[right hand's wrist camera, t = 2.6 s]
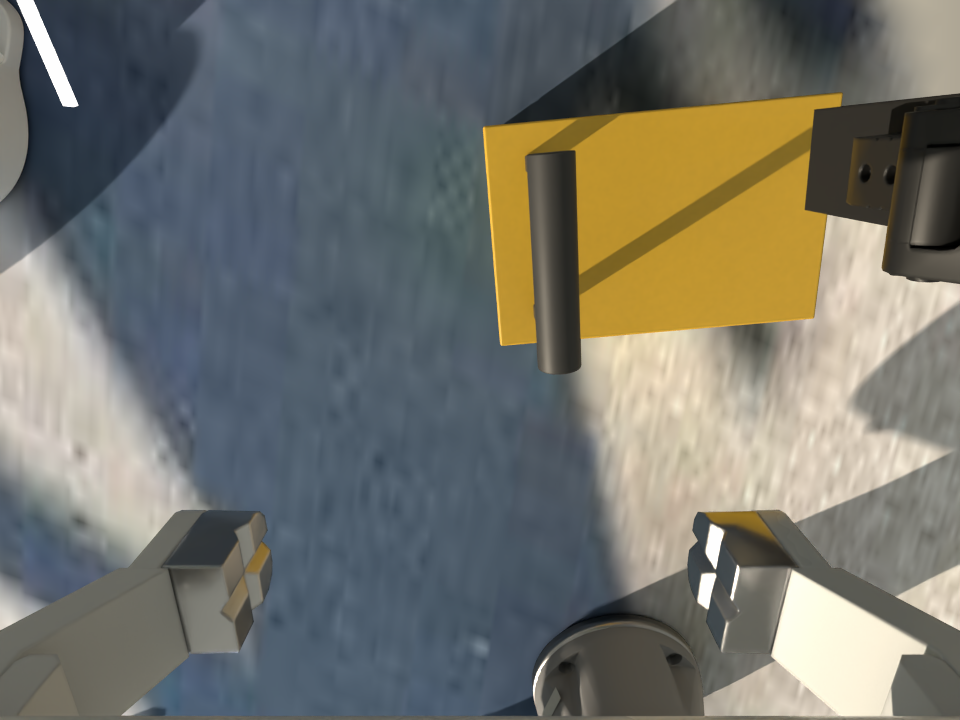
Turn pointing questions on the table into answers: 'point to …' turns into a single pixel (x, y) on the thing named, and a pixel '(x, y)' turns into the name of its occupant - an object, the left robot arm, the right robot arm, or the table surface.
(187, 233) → the table surface
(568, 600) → the table surface
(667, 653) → the left robot arm
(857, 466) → the table surface
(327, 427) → the table surface
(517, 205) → the lid
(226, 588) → the right robot arm
